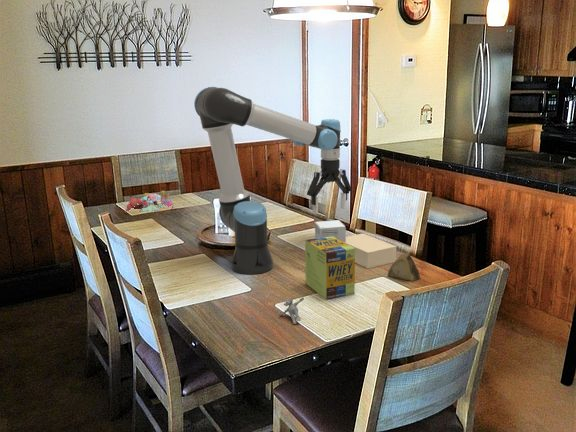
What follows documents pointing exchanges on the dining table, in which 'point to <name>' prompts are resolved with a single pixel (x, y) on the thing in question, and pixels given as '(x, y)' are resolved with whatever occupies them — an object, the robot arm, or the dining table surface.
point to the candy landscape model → (150, 202)
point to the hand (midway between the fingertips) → (329, 210)
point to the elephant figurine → (292, 309)
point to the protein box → (330, 267)
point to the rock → (404, 268)
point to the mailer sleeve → (371, 250)
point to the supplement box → (330, 230)
